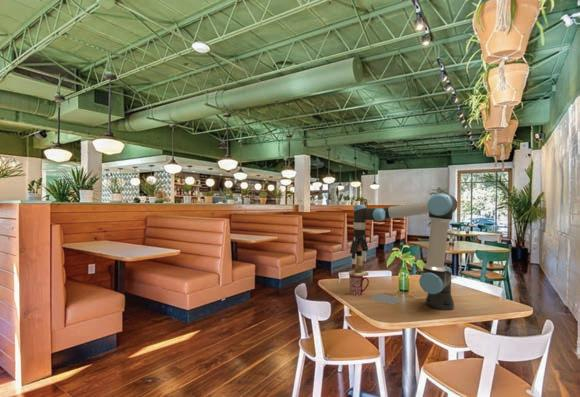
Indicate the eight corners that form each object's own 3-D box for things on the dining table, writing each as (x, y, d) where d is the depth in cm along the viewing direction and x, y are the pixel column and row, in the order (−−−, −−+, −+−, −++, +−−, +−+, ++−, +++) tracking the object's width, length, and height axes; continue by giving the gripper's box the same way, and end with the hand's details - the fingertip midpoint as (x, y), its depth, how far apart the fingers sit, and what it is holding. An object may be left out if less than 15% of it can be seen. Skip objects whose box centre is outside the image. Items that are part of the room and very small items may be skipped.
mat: (403, 299, 196) (403, 298, 196) (393, 305, 184) (393, 304, 184) (378, 294, 206) (378, 293, 206) (368, 299, 194) (368, 298, 194)
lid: (371, 273, 205) (371, 256, 205) (363, 277, 195) (363, 259, 195) (354, 270, 212) (354, 254, 212) (345, 273, 203) (345, 256, 203)
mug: (346, 295, 202) (347, 274, 202) (350, 292, 210) (351, 271, 210) (366, 298, 196) (367, 276, 196) (370, 295, 204) (370, 273, 204)
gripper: (362, 227, 216) (362, 259, 216) (344, 229, 196) (344, 264, 196) (373, 228, 211) (373, 260, 211) (355, 230, 192) (355, 266, 191)
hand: (359, 262), depth 203 cm, fingers open, 13 cm apart
